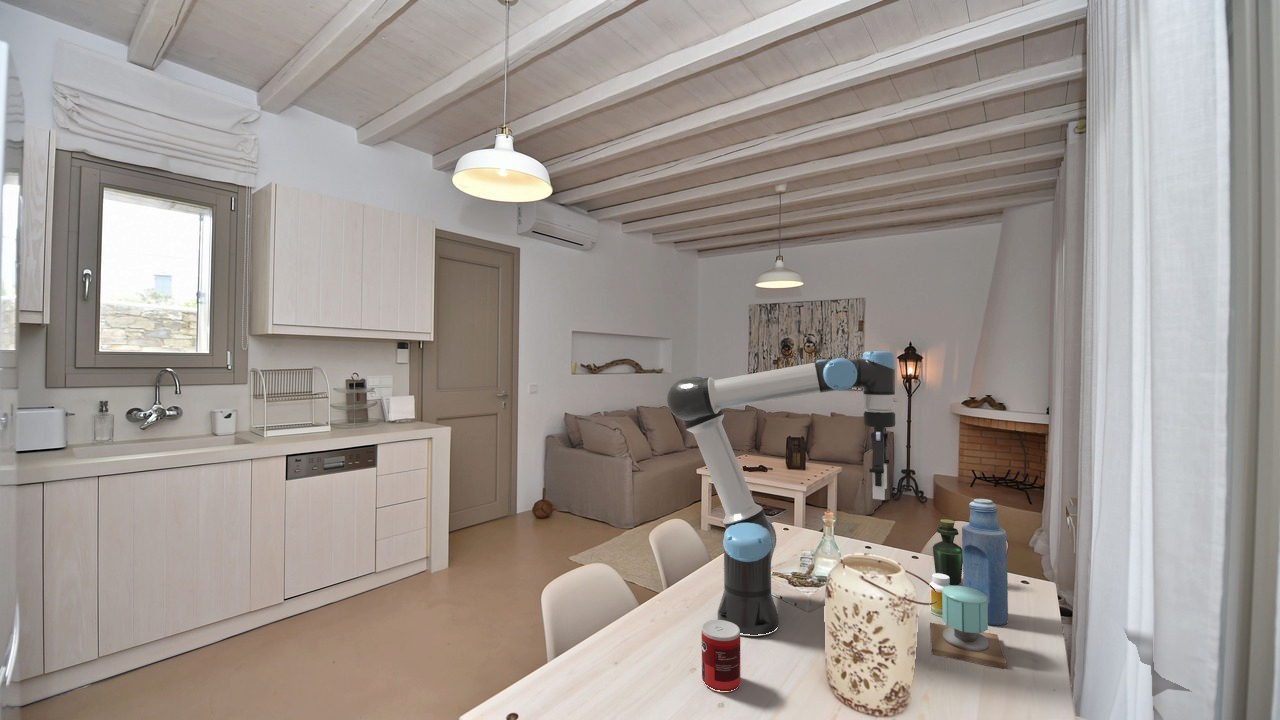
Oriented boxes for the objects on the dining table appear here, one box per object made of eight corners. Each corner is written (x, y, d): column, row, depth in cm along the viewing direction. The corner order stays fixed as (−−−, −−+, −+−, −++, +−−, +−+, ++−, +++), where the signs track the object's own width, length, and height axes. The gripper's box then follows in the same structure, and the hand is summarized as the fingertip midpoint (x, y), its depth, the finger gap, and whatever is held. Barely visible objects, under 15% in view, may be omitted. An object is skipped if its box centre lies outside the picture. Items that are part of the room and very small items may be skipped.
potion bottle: (968, 588, 158) (967, 525, 158) (937, 585, 160) (936, 524, 160) (958, 577, 166) (957, 518, 166) (929, 575, 168) (928, 516, 168)
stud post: (932, 654, 122) (931, 601, 122) (929, 627, 134) (929, 580, 134) (1006, 669, 115) (1005, 614, 116) (997, 639, 128) (996, 589, 128)
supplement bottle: (956, 619, 139) (956, 580, 139) (933, 617, 140) (933, 579, 140) (949, 609, 144) (948, 572, 144) (926, 608, 145) (926, 571, 145)
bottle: (1017, 621, 137) (1015, 502, 137) (992, 629, 133) (990, 506, 133) (979, 606, 146) (977, 494, 146) (955, 614, 141) (953, 498, 142)
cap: (978, 617, 128) (978, 587, 128) (994, 635, 119) (993, 603, 120) (937, 613, 130) (937, 584, 130) (950, 631, 121) (949, 599, 122)
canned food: (714, 667, 116) (713, 616, 117) (747, 681, 111) (747, 627, 112) (694, 683, 111) (693, 629, 111) (728, 698, 106) (728, 641, 106)
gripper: (893, 415, 128) (894, 505, 127) (896, 408, 150) (897, 485, 150) (859, 414, 131) (860, 502, 131) (867, 407, 153) (867, 482, 153)
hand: (880, 493), depth 140 cm, fingers open, 13 cm apart
